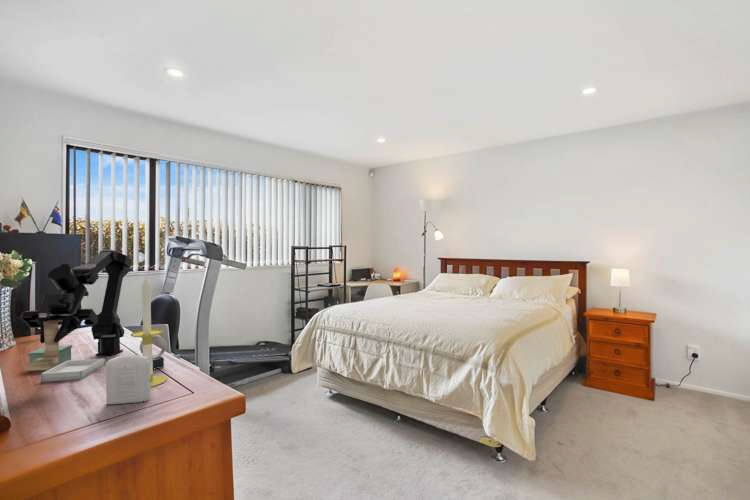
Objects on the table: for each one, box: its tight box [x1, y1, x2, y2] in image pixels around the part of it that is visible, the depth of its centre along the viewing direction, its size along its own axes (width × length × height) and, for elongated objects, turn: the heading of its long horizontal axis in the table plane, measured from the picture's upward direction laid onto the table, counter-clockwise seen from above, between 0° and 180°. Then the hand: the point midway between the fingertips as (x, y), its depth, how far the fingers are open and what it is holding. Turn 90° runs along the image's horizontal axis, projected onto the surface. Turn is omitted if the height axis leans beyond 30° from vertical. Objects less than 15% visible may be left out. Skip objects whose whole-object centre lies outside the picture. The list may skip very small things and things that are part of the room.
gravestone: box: [105, 354, 151, 405], centre depth 100 cm, size 10×4×12 cm, turn 103°
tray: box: [40, 357, 105, 383], centre depth 122 cm, size 13×11×2 cm
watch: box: [139, 334, 168, 370], centre depth 127 cm, size 6×8×11 cm
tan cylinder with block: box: [25, 320, 60, 372], centre depth 109 cm, size 8×5×13 cm, turn 11°
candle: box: [130, 277, 168, 388], centre depth 113 cm, size 10×10×32 cm
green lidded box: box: [27, 344, 73, 370], centre depth 130 cm, size 9×9×7 cm
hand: (48, 342), depth 110 cm, fingers closed on tan cylinder with block, 3 cm apart
